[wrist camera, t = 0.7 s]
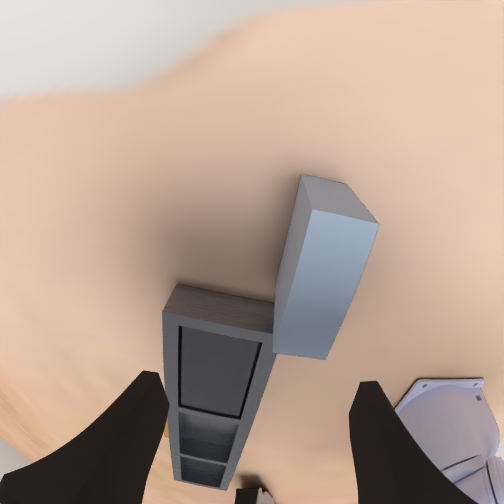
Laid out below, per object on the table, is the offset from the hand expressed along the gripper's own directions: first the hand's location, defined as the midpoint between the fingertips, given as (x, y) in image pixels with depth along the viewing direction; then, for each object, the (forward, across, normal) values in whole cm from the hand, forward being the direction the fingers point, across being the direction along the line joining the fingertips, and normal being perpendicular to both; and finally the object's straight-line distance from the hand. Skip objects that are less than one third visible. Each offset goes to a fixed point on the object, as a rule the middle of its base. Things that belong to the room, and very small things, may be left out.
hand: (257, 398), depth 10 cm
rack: (+10, +6, +17) cm, 20 cm away
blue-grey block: (+10, -2, -2) cm, 10 cm away
